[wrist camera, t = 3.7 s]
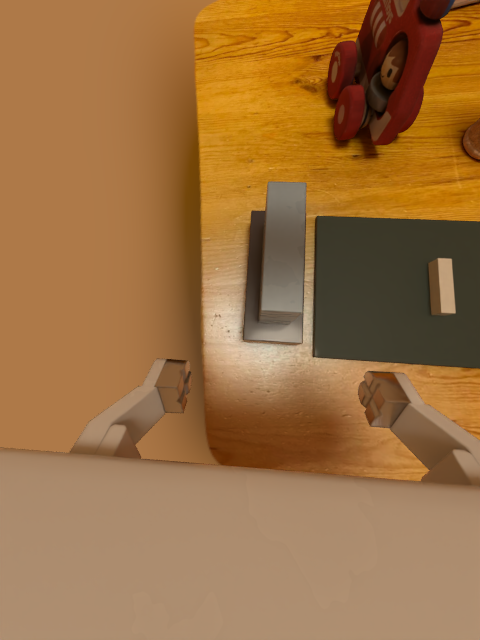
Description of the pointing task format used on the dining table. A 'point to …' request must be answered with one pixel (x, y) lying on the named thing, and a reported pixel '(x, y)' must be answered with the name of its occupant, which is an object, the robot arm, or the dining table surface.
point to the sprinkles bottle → (473, 140)
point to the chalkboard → (395, 291)
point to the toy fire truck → (385, 68)
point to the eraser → (277, 267)
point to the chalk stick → (441, 287)
